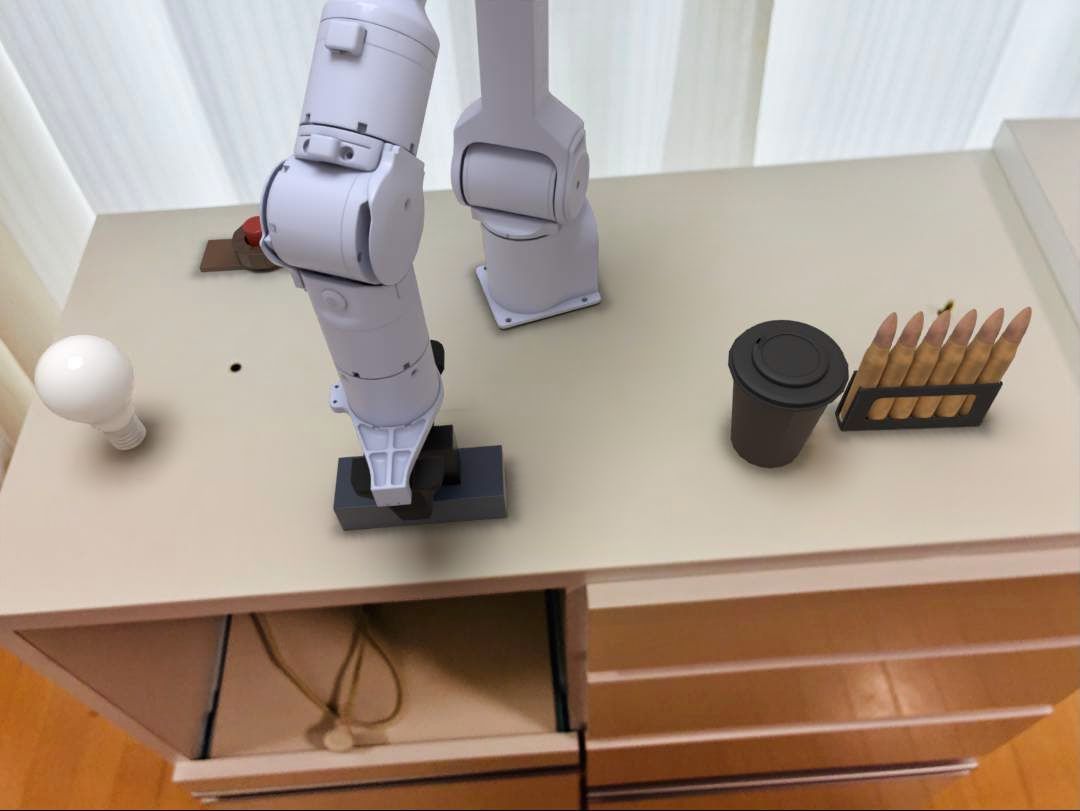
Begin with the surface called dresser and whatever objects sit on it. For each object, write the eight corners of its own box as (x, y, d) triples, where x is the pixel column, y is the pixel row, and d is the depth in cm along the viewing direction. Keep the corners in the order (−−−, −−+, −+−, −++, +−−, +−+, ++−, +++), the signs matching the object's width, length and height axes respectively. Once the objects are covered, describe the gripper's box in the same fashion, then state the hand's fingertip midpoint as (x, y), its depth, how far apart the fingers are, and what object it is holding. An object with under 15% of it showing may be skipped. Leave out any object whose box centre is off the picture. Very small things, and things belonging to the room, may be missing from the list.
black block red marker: (460, 461, 60) (452, 422, 56) (460, 484, 58) (452, 446, 55) (378, 467, 60) (364, 428, 56) (376, 491, 58) (362, 453, 55)
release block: (333, 233, 80) (327, 213, 79) (326, 270, 77) (320, 251, 75) (211, 239, 81) (202, 220, 79) (199, 277, 77) (190, 258, 75)
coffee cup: (707, 397, 66) (723, 310, 58) (810, 397, 66) (841, 309, 58) (717, 483, 61) (737, 400, 53) (829, 484, 61) (865, 400, 53)
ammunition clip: (839, 431, 63) (884, 323, 54) (834, 412, 65) (876, 303, 55) (980, 426, 63) (1049, 316, 54) (972, 406, 64) (1039, 296, 55)
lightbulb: (149, 480, 63) (80, 390, 55) (76, 468, 64) (-4, 378, 56) (186, 415, 67) (127, 321, 59) (117, 405, 68) (48, 311, 60)
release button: (276, 229, 78) (270, 214, 77) (272, 246, 77) (266, 231, 75) (251, 230, 78) (245, 216, 77) (246, 247, 77) (240, 233, 75)
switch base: (504, 467, 63) (501, 444, 60) (507, 517, 60) (504, 495, 58) (347, 479, 63) (338, 457, 60) (343, 530, 60) (332, 509, 58)
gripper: (322, 262, 52) (367, 395, 63) (296, 450, 43) (353, 568, 54) (434, 253, 52) (460, 388, 63) (430, 439, 43) (461, 559, 54)
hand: (417, 470), depth 58 cm, fingers open, 7 cm apart
